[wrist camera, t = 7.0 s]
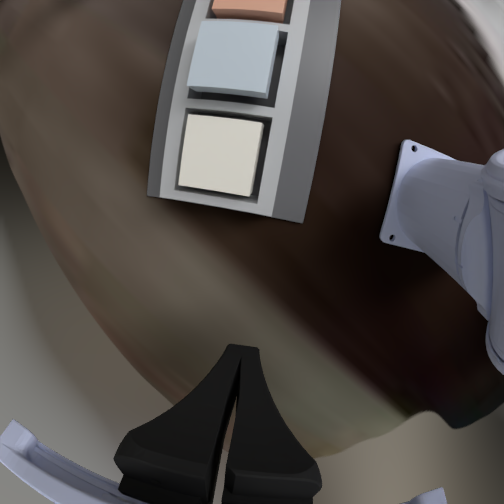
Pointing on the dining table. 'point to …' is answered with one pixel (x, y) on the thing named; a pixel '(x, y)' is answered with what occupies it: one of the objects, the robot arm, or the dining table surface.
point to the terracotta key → (251, 10)
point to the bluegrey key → (234, 58)
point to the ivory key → (220, 154)
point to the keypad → (253, 110)
